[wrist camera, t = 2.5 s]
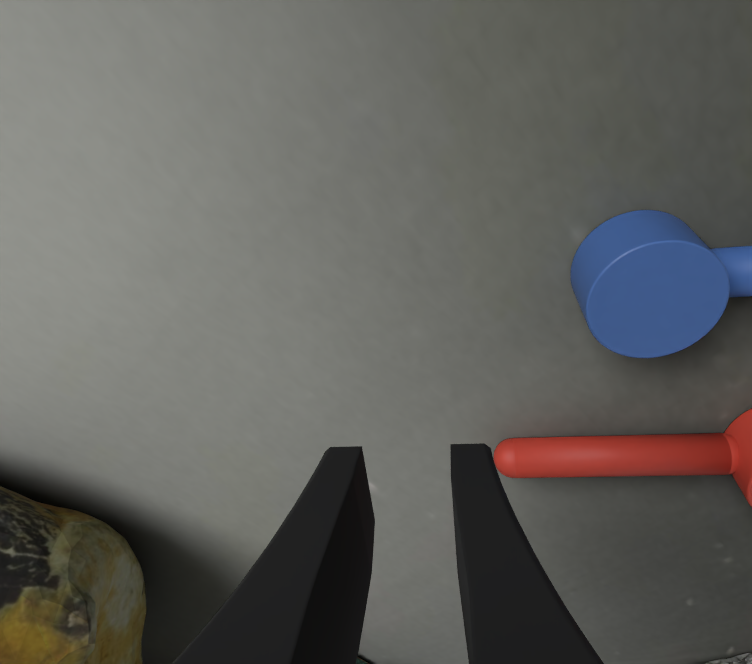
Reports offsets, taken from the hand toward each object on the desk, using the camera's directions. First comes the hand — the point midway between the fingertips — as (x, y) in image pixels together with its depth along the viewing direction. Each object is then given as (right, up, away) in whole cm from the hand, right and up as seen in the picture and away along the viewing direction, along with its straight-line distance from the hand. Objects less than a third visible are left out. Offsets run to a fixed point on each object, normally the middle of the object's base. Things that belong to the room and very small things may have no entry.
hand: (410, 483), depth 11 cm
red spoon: (+10, -1, +10) cm, 14 cm away
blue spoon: (+10, +5, +6) cm, 13 cm away
